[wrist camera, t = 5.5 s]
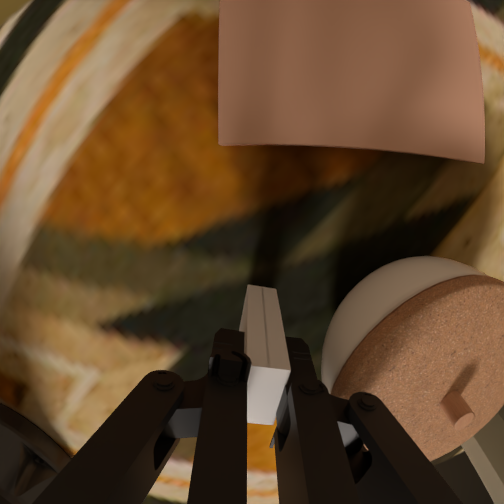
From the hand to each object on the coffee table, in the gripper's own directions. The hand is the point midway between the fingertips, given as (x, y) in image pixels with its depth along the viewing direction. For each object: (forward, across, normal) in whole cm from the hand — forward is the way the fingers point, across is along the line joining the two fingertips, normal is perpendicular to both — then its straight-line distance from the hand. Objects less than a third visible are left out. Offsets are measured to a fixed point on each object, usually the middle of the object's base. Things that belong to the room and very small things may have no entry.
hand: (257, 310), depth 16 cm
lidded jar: (+2, +8, 0) cm, 8 cm away
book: (+2, +3, +14) cm, 14 cm away
